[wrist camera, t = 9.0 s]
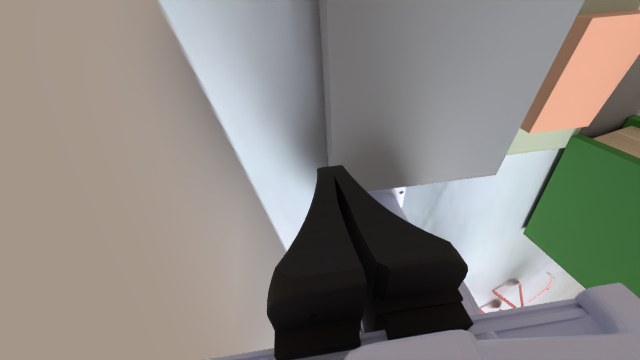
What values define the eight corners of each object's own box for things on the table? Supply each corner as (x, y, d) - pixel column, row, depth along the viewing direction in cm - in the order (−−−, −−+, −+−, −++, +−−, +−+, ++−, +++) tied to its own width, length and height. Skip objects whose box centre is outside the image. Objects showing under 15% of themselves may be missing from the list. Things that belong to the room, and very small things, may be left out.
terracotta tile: (529, 133, 22) (513, 124, 24) (588, 126, 22) (568, 117, 24) (592, 18, 16) (566, 16, 18) (670, 10, 17) (637, 9, 18)
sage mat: (564, 145, 27) (569, 147, 26) (473, 156, 26) (476, 159, 26) (708, -69, 16) (718, -70, 16) (560, -57, 16) (566, -58, 15)
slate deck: (470, 153, 26) (495, 174, 23) (328, 171, 25) (334, 196, 22) (549, -46, 16) (613, -56, 13) (316, -26, 15) (325, -32, 12)
